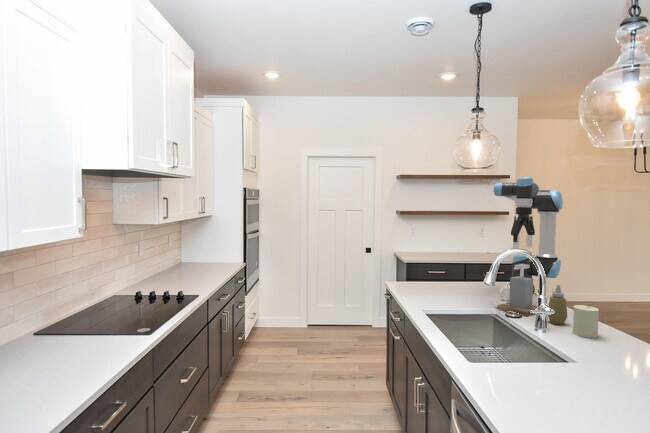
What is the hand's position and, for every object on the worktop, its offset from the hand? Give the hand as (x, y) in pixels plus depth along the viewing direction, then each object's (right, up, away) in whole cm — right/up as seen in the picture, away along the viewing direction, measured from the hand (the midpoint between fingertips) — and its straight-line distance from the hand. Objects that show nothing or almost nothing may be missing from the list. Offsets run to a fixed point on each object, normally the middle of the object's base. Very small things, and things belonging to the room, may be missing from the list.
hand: (522, 247), depth 200 cm
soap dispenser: (0, -31, +1) cm, 31 cm away
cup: (+2, -32, +21) cm, 39 cm away
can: (+9, -35, -35) cm, 50 cm away
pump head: (-2, -18, -1) cm, 19 cm away
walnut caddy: (0, -33, +1) cm, 33 cm away
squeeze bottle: (+6, -34, -20) cm, 40 cm away
